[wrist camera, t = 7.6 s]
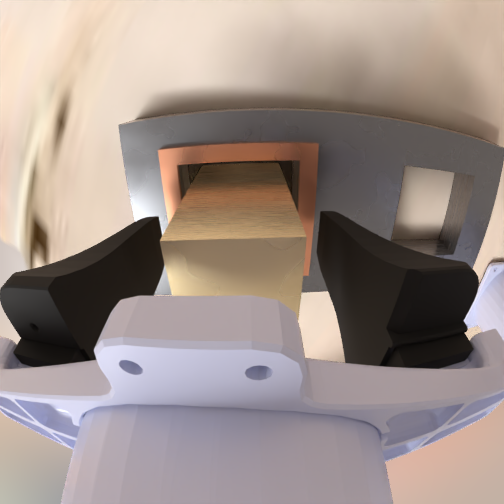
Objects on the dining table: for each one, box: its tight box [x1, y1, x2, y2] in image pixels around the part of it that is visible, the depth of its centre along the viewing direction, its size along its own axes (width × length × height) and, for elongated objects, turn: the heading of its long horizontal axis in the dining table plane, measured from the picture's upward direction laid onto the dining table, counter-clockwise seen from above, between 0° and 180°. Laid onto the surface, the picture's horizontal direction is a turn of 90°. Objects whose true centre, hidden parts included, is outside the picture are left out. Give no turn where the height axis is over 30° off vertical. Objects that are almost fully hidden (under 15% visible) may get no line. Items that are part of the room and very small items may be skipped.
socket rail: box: [119, 108, 504, 295], centre depth 14 cm, size 22×10×2 cm, turn 91°
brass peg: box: [160, 163, 307, 319], centre depth 12 cm, size 4×4×8 cm
